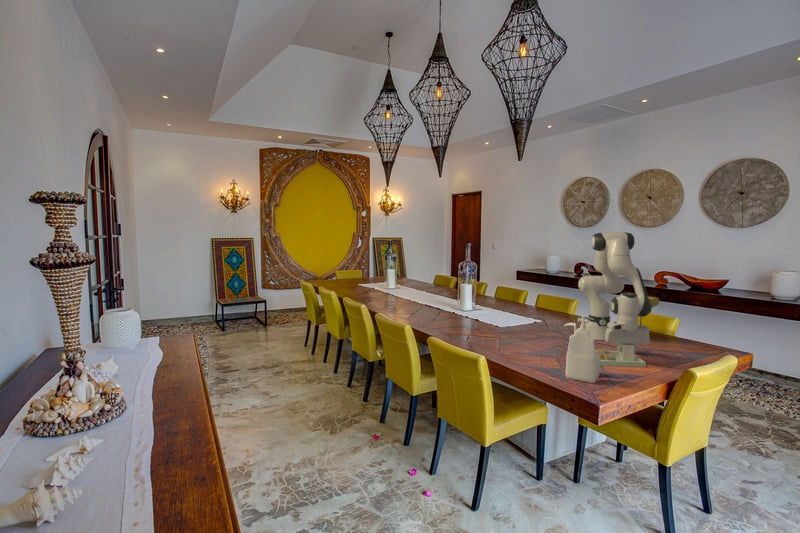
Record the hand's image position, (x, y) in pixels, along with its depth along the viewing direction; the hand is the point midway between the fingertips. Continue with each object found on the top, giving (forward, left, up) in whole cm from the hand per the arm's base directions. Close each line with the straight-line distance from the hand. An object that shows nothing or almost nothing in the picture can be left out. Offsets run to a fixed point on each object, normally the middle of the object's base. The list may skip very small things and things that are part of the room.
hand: (626, 352), depth 201 cm
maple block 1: (-6, -9, -5) cm, 12 cm away
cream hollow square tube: (0, 0, -4) cm, 4 cm away
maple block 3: (+3, -9, -5) cm, 11 cm away
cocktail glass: (-57, +32, -6) cm, 66 cm away
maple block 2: (-1, -12, -5) cm, 13 cm away
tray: (-1, -5, -6) cm, 8 cm away
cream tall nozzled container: (+20, -29, -6) cm, 36 cm away
